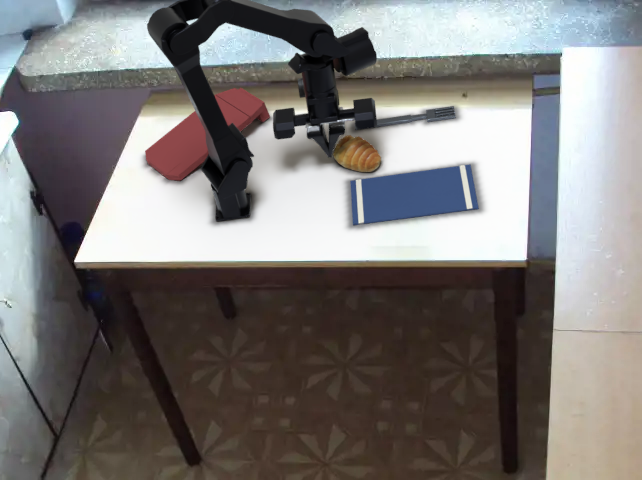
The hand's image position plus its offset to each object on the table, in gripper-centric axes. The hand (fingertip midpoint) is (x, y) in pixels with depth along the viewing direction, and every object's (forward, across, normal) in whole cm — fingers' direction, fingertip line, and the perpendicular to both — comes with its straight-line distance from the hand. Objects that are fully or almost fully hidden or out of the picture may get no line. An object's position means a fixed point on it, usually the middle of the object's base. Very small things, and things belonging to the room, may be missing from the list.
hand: (330, 156), depth 178 cm
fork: (+1, -15, -10) cm, 18 cm away
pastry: (+2, -5, 0) cm, 5 cm away
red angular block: (+2, +24, -13) cm, 28 cm away
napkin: (+1, -14, +12) cm, 19 cm away
